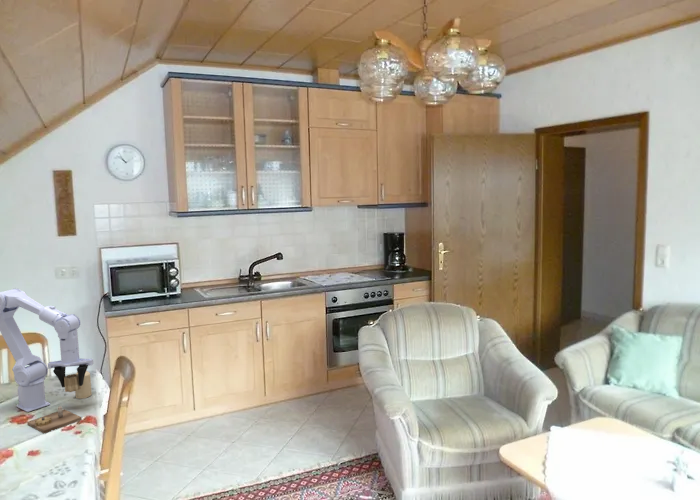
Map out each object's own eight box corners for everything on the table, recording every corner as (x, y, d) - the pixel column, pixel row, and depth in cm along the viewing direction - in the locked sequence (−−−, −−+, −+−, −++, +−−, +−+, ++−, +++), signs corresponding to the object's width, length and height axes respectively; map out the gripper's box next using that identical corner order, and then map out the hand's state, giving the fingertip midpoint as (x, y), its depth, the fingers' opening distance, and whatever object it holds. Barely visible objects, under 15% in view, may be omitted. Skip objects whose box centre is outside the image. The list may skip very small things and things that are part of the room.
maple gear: (62, 390, 181) (60, 377, 181) (76, 385, 185) (75, 372, 185) (69, 393, 178) (68, 379, 178) (84, 388, 183) (82, 375, 182)
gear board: (27, 424, 170) (26, 411, 169) (64, 412, 179) (63, 398, 179) (44, 433, 163) (43, 419, 162) (81, 419, 173) (80, 406, 172)
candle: (84, 399, 191) (82, 373, 190) (72, 398, 192) (70, 373, 191) (94, 393, 196) (93, 368, 195) (82, 393, 197) (80, 368, 196)
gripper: (42, 354, 175) (46, 391, 177) (87, 350, 178) (90, 387, 179) (51, 348, 182) (54, 384, 183) (94, 345, 185) (96, 380, 186)
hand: (72, 385), depth 182 cm, fingers closed on maple gear, 5 cm apart
